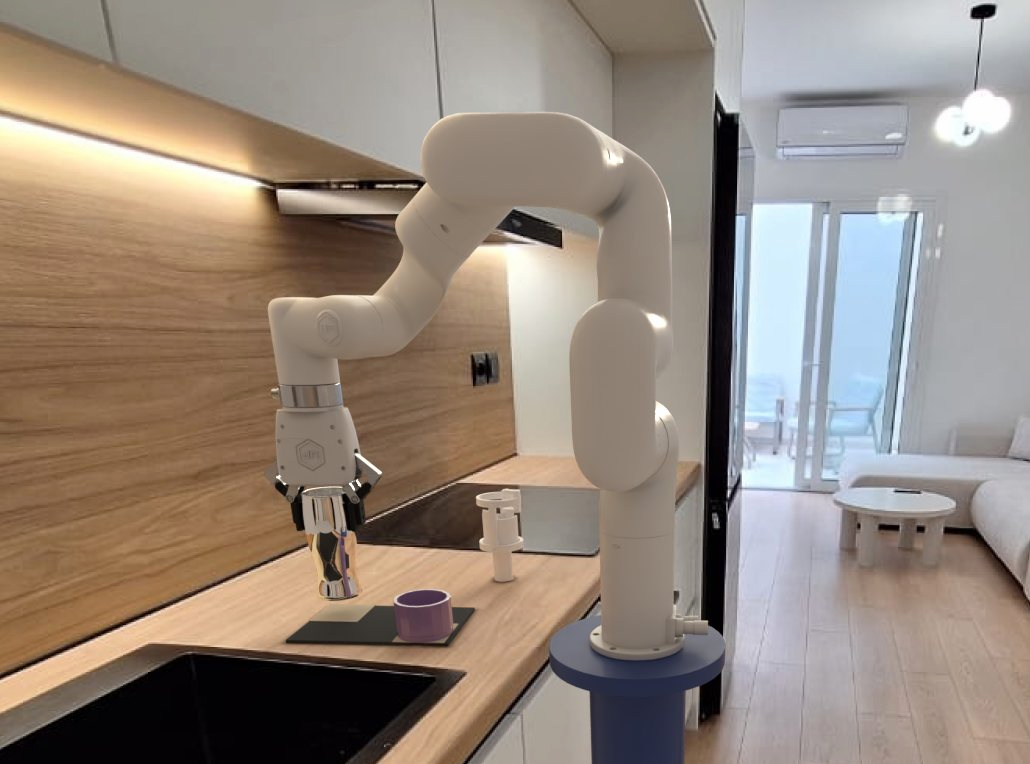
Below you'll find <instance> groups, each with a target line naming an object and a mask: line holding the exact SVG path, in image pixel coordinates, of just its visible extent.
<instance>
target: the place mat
mask: <svg viewBox="0 0 1030 764" xmlns="http://www.w3.org/2000/svg"><path fill="white" fill-rule="evenodd" d="M475 611H476V608H475V607H474V606H473V607H472V606H471V607H469V606H452V616H453V632H452V634H450V635H449V636H447V637H445V638H443V639H440V640H436V641H431V642H408V641H404V640H402V639H400V638H399V637H398V635H397V627H396V619H395V611H394V605H376V604H349V603H348V604H346V603H335V604H334V603H329V604H328V605H326V606H325V607H324V608H322V609H321V610H320V611H319V612H318V613H316V614H315V615H314V616H312V618H310V619H309V620H308V622H306V623H305V624H304V625H302V626H301V627H300V628H298V629H297V630H296V631H295V632H294V633H292V634H291V635H290V636H289V637H288V638H286V639H285V644H287V643H288V644H331V645H333V644H335V645H375V646H377V645H378V646H379V645H383V646H387V645H388V646H424V647H425V646H427V647H428V646H429V647H431V646H432V647H448V646H450V644H451V643H452V641H453V640H454V639H455V637H456V636H457V635H458V633H459V632H460V631H461V629H462V628H463V627H464V625H465V624H466V622H467V621H468V620H469V619H470V617H471V616H472V614H473V613H474V612H475Z"/></svg>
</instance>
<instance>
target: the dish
mask: <svg viewBox="0 0 1030 764" xmlns="http://www.w3.org/2000/svg"><path fill="white" fill-rule="evenodd" d="M392 602H393V606H394V611H395V619H396V627H397V635H398V637H399V638H400V639H402V640H404V641H408V642H431V641H436V640H440V639H443V638H445V637H447V636H449V635H450V634H452V632H453V616H452V607H453V606H452V605H453V604H452V597H451V594H450V592H448V591H446V590H442V589H437V588H421V589H413V590H408V591H405V592H402V593H400V594H398V595H396V596H395V597H394V598H393V599H392Z"/></svg>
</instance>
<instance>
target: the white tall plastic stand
mask: <svg viewBox="0 0 1030 764" xmlns="http://www.w3.org/2000/svg"><path fill="white" fill-rule="evenodd" d="M475 504H476V506H478V507H480V508H488V509H482V510H481V511H482V513H481V518H482V529H483V530H482V531H483V537H482V538H480V539H479V541H478V542H479V549H480V550H481V551H483V552H487V553H492V563H493V575H494V576H493V577H494V581H495V582H499V583H505V582H510V581H513V580H514V568H513V554H512V552H516V551H519V550H522V549H523V548H524V546H525V545H524V538H523V537H522V536H520V535H519V524H518V515H517V514H520V513H521V512H522V495H521V489H515V488H514V489H510V488H503V489H502V490H500V491H492V492H485V493H481V494H478V495H476V496H475ZM497 509H499V511H500V513H497Z"/></svg>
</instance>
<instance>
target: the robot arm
mask: <svg viewBox="0 0 1030 764" xmlns="http://www.w3.org/2000/svg"><path fill="white" fill-rule="evenodd" d="M419 160H420V168H421V172H422V175H423V179H424V180H425V183H424V184H423V186H421V188H420V190H418V191H417V193H415V195H414V196H413V197H412V198H411V199H410V201H409V202H408V203H407V205H406V206H405V207H404V208H403V209H402V210H401V212H399V214H398V215H397V217H396V219H395V222H394V225H395V227H394V228H395V232H396V233H395V234H396V236H397V237H398V238H397V239H398V241H399V242H400V243H401V245H402V247H403V252H402V256H401V260H400V262H399V264H398V266H397V267H396V269H394V271H393V273H392V274H391V276H389V278H388V279H387V280H386V281H385V282H384V283H383V284H382V285H381V287H379V289H378V290H377V291H376V292H374V294H373V295H364V294H363V295H362V294H351V295H350V294H336V295H335V294H333V295H327V296H321V297H307V296H306V297H305V296H303V297H302V296H301V297H299V296H297V297H296V296H295V297H294V296H290V297H288V296H287V297H286V296H285V297H276V298H273V299H272V300H270V301H269V303H268V305H267V317H268V323H269V329H270V335H271V343H272V349H273V355H274V361H275V367H276V373H277V374H276V375H277V381H278V384H277V388H271V390H270V396H271V398H272V399H273V400H278V401H280V406H281V407H282V408H278V409H276V413H275V430H274V431H275V452H276V453H275V454H276V459H275V460H274V461H273V462H272V463H271V464H270V465H269V466H268V467H267V468H266V469H265V470H264V471H263V476H264V477H265V479H266V480H267V481H268V482H269V483H270V484H272V485H273V486H274V488H275V490H276V491H278V492H279V493H280V494H281V495H282V496H283V497H284V498H285V501H286V502H287V503H288V504H290V511H291V517H292V522H293V524H295V529H296V531H297V532H303V531H304V526H303V520H302V511H301V497H300V493H301V492H302V491H304V490H307V487H342V488H343V489H344V491H345V493H346V494H347V496H348V497H349V499H350V503H349V504H348V505H347V508H348V515H349V523H350V530H351V531H352V532H357V533H358V532H359V531H360V530H363V528H364V527H365V524H366V522H367V516H366V509H365V502H364V500H365V499H366V498H367V497H368V495H369V494H370V493H371V492H372V491H373V489H374V488H375V487H376V486H377V484H378V482H379V481H380V480H381V478H382V477H383V472H382V471H381V470H380V469H379V468H377V467H376V466H375V465H374V464H372V463H371V461H368V460H367V459H366V458H365V457H364V456H362V454H361V449H360V444H359V439H358V435H357V430H356V427H355V424H354V420H353V418H352V414H351V412H350V410H349V407H347V406H344V400H343V399H344V398H343V391H342V385H341V378H340V370H339V363H338V360H344V361H345V360H347V361H348V360H359V359H360V360H361V359H367V358H377V357H387V356H391V355H394V354H396V353H398V352H400V351H401V350H402V349H404V348H405V347H406V346H408V345H409V344H410V342H412V341H413V340H414V339H415V337H416V336H418V334H420V333H421V332H422V330H423V329H424V328H425V327H426V326H427V325H428V324H429V323H430V322H431V320H432V319H433V318H434V317H435V316H436V314H437V313H438V311H439V310H440V308H441V306H442V304H443V303H444V301H445V298H446V295H447V294H448V292H449V289H450V286H451V283H452V279H453V277H454V275H455V273H457V271H458V270H459V269H460V268H461V267H462V266H463V264H465V262H466V261H467V260H468V259H469V258H470V257H471V255H472V254H473V253H474V252H475V251H476V250H477V249H478V247H480V246H481V244H482V243H483V242H485V240H486V239H487V238H488V237H489V236H490V235H491V234H492V232H494V230H496V228H497V227H498V226H499V225H500V224H501V223H502V222H503V221H504V220H505V219H506V217H508V216H509V214H510V213H511V212H512V211H513V210H514V209H515V208H516V207H528V208H529V207H532V208H533V207H534V208H553V209H558V210H562V211H564V212H567V213H570V214H573V215H578V216H582V217H585V218H588V219H590V220H592V221H594V222H595V224H596V225H597V228H598V234H599V236H598V244H597V252H596V277H597V303H594V304H592V305H591V306H590V307H588V308H587V309H586V310H585V311H584V312H583V313H582V315H581V316H580V317H579V319H578V321H577V322H576V323H575V326H574V328H573V332H572V336H571V340H570V345H569V361H568V362H569V388H570V390H569V391H570V409H571V410H570V414H571V415H570V416H571V439H572V440H571V441H572V448H573V454H574V459H575V462H576V464H577V466H578V469H579V470H580V473H581V474H582V475H583V476H584V478H585V479H586V480H587V481H588V482H589V483H590V484H592V485H593V486H594V487H595V488H598V489H599V500H598V532H599V534H598V537H599V541H598V542H599V577H600V578H599V579H600V581H599V582H600V584H599V585H600V615H601V626H599V627H597V628H596V629H594V630H593V631H592V632H591V634H590V645H591V647H592V648H593V649H594V650H595V651H596V652H598V653H599V654H601V655H604V656H607V657H610V658H614V659H620V660H629V661H645V660H654V659H660V658H664V657H667V656H670V655H672V654H675V653H676V652H678V651H679V650H681V649H682V647H683V646H684V644H685V635H684V634H694V635H708V625H709V621H708V620H699V615H682V613H677V604H675V603H674V601H675V599H674V598H675V597H674V595H675V592H674V591H675V528H676V527H675V526H676V492H677V479H678V469H679V460H680V434H679V429H678V426H677V423H676V420H675V418H674V416H673V415H672V413H671V412H670V410H668V409H667V407H666V406H664V405H663V404H662V403H660V402H659V401H657V393H656V392H657V379H658V378H659V377H661V376H662V375H663V374H664V373H665V372H666V370H667V369H668V367H669V366H670V363H671V360H672V358H673V357H672V356H673V354H674V353H673V352H674V325H673V269H672V265H673V264H672V263H673V262H672V260H673V259H672V258H673V257H672V255H673V253H672V250H673V249H672V247H673V246H672V245H673V244H672V243H673V242H672V218H671V217H672V216H671V209H670V204H669V200H668V195H667V193H666V190H665V187H664V186H663V185H664V184H663V183H662V181H661V180H660V178H659V176H658V174H657V173H656V172H655V170H654V169H653V167H652V166H651V165H650V164H649V163H648V162H647V161H646V160H644V158H642V157H641V156H640V155H638V154H637V153H636V152H634V151H632V150H631V149H630V148H628V147H626V146H625V145H623V144H622V143H620V142H619V141H617V140H615V139H614V138H612V137H610V136H609V135H608V134H606V133H604V132H603V131H601V130H599V129H597V128H596V127H595V126H593V125H591V124H590V123H589V122H587V121H585V120H583V119H582V118H579V117H577V116H574V115H572V114H569V113H565V112H557V111H519V112H518V111H517V112H515V111H513V112H457V113H453V114H449V115H446V116H445V117H442V118H440V119H439V120H438V121H437V122H435V123H434V124H433V125H432V127H430V129H429V130H428V132H427V133H426V135H425V137H424V139H423V141H422V145H421V148H420V159H419ZM363 474H365V475H366V479H365V481H364V482H363V483H362V484H361V483H360V482H359V479H361V478H362V477H363Z"/></svg>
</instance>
